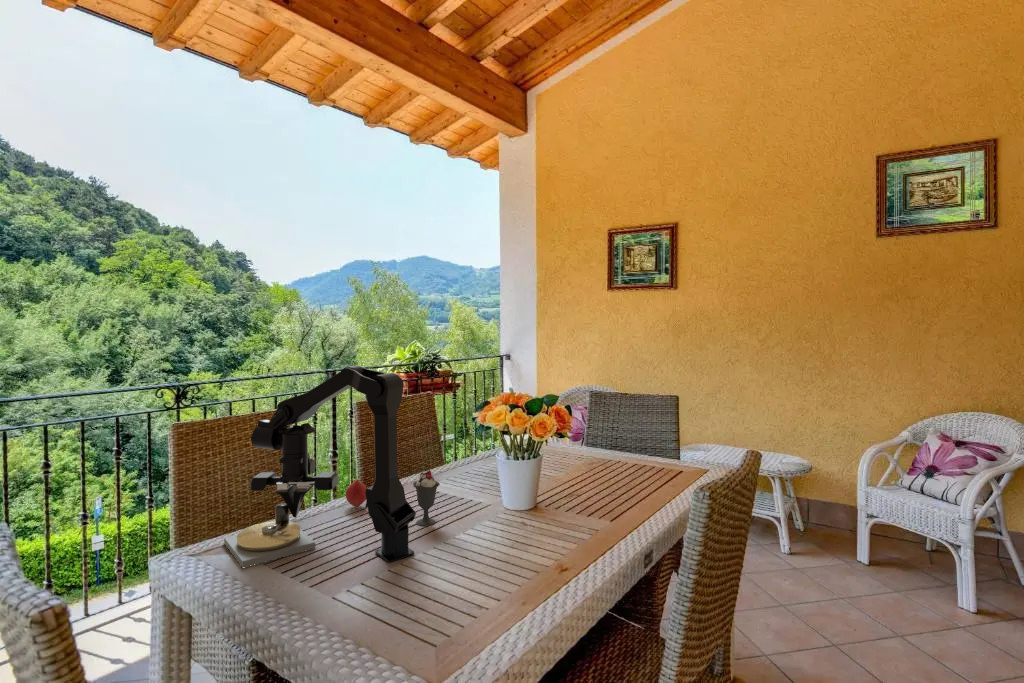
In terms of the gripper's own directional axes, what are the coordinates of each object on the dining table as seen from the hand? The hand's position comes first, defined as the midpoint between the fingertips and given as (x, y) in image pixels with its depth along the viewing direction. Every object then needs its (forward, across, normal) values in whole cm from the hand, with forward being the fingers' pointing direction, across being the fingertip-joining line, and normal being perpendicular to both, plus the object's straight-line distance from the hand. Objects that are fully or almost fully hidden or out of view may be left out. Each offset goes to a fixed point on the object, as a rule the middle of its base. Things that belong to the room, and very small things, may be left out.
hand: (295, 516), depth 126 cm
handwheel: (+3, +4, +6) cm, 7 cm away
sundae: (+5, -30, -8) cm, 31 cm away
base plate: (+5, +4, +6) cm, 8 cm away
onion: (+5, -10, -19) cm, 22 cm away
